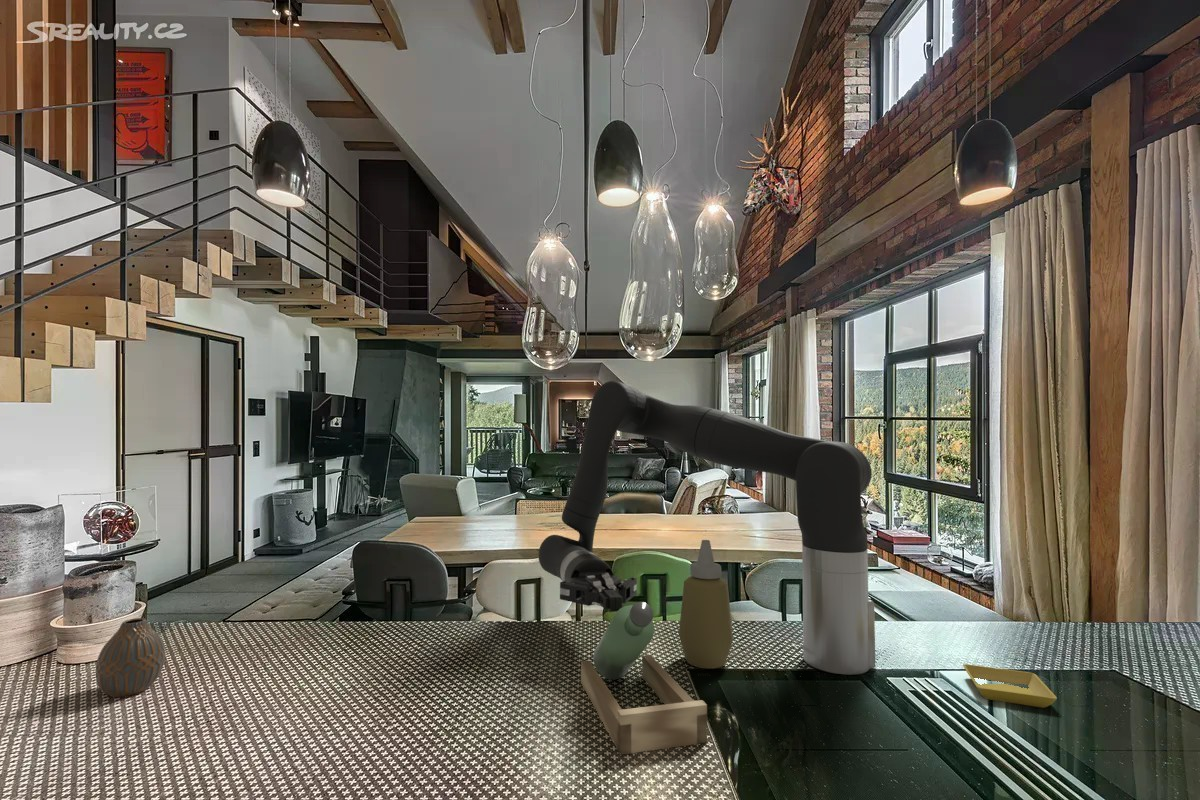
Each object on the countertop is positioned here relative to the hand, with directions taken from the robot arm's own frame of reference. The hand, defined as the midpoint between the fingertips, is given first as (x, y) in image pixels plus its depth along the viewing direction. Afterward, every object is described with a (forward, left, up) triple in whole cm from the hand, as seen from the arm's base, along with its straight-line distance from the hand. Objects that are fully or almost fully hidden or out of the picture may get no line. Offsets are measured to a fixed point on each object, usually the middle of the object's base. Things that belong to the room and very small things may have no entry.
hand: (615, 604), depth 79 cm
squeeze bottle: (-15, -2, -10) cm, 18 cm away
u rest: (0, +10, -10) cm, 14 cm away
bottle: (0, -1, -8) cm, 8 cm away
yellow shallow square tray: (-50, +17, -11) cm, 54 cm away
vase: (+62, -11, -10) cm, 64 cm away
